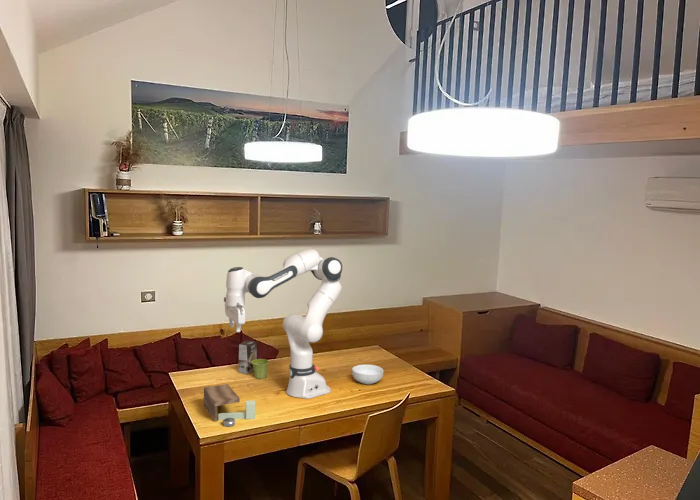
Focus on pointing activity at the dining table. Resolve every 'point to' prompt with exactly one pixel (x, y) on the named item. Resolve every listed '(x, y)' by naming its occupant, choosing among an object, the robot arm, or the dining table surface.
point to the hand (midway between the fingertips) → (234, 329)
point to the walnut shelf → (218, 398)
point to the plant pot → (260, 368)
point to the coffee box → (247, 356)
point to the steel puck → (229, 422)
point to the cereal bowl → (367, 373)
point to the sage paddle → (239, 415)
